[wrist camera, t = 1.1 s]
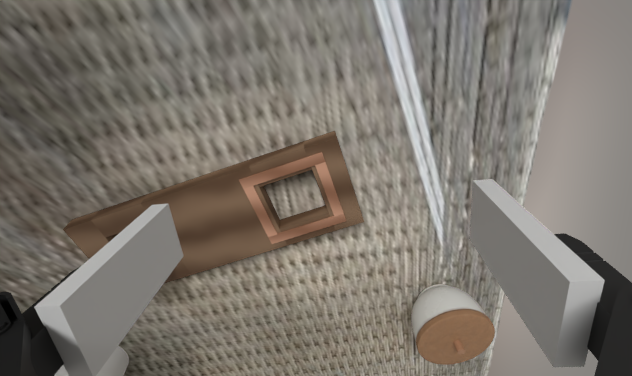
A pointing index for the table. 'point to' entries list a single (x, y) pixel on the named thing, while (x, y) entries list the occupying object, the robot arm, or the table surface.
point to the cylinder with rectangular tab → (108, 365)
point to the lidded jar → (449, 325)
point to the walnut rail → (236, 208)
